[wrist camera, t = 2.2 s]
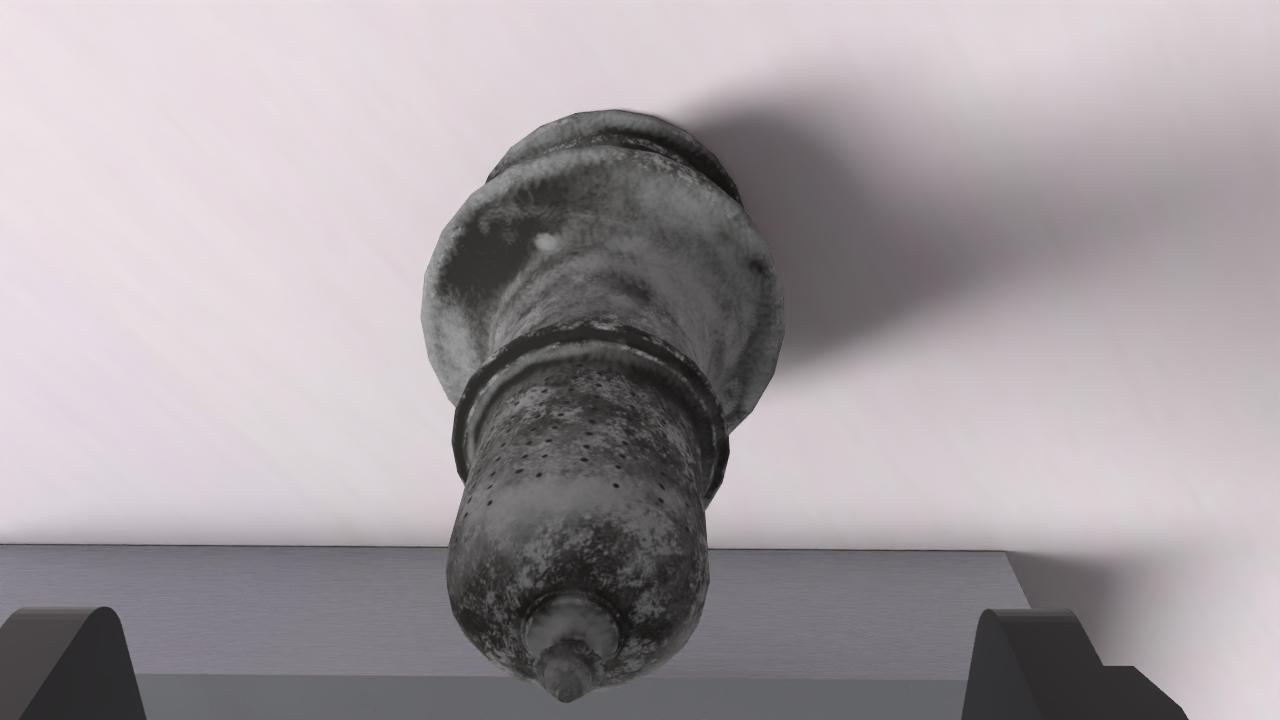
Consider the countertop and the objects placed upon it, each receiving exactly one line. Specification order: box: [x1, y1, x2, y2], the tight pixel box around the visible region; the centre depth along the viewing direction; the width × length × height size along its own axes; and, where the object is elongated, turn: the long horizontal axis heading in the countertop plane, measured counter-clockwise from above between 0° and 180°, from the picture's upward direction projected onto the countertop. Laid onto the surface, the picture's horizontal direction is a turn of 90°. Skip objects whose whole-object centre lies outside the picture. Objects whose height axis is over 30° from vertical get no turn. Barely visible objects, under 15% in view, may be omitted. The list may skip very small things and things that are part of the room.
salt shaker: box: [421, 110, 784, 703], centre depth 16 cm, size 6×6×12 cm
